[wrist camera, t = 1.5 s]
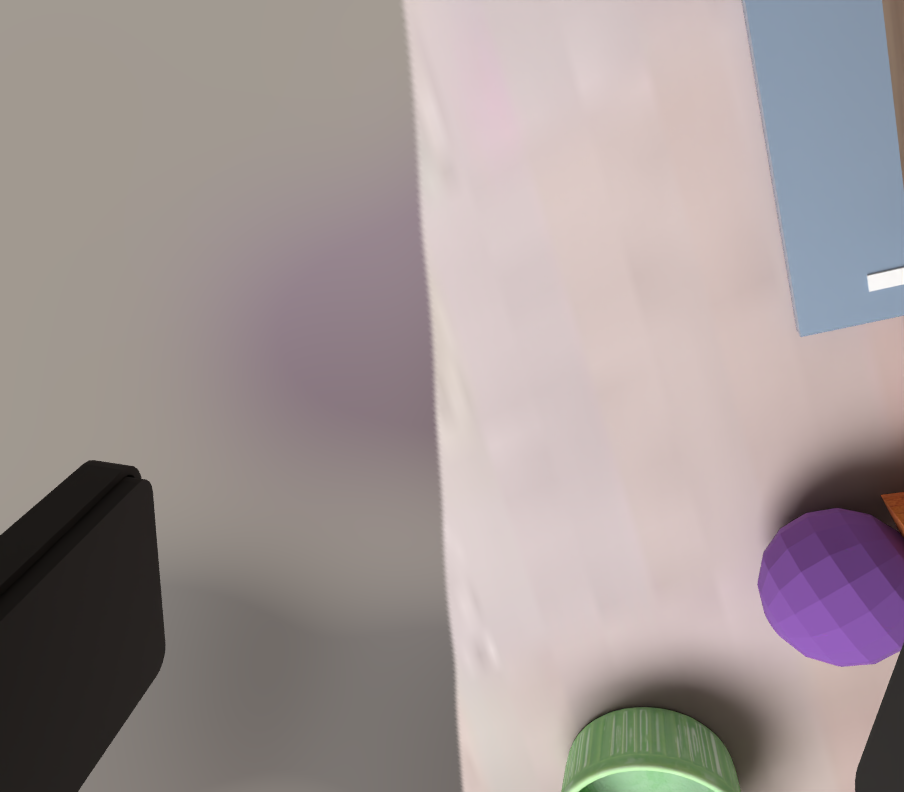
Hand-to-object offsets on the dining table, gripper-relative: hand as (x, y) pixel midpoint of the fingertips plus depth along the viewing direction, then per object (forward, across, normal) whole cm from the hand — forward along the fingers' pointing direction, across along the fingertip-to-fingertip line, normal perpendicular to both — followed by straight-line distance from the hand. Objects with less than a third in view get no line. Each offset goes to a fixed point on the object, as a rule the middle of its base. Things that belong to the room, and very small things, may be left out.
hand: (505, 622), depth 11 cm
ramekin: (+24, -7, +27) cm, 37 cm away
